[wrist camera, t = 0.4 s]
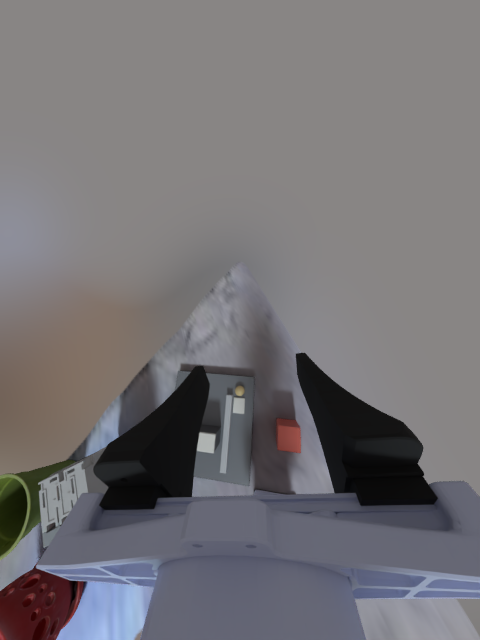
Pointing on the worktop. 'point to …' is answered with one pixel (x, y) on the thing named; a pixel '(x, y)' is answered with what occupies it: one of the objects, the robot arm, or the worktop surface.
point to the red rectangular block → (288, 435)
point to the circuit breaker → (66, 493)
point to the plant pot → (21, 504)
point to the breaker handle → (208, 438)
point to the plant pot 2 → (37, 606)
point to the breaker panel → (227, 428)
